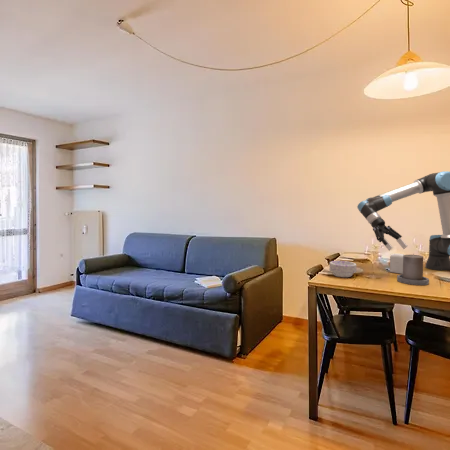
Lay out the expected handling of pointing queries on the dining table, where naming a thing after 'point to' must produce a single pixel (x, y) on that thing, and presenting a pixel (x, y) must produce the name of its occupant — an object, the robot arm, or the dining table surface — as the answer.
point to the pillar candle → (413, 267)
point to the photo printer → (396, 263)
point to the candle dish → (413, 281)
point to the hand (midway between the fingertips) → (398, 248)
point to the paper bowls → (342, 268)
